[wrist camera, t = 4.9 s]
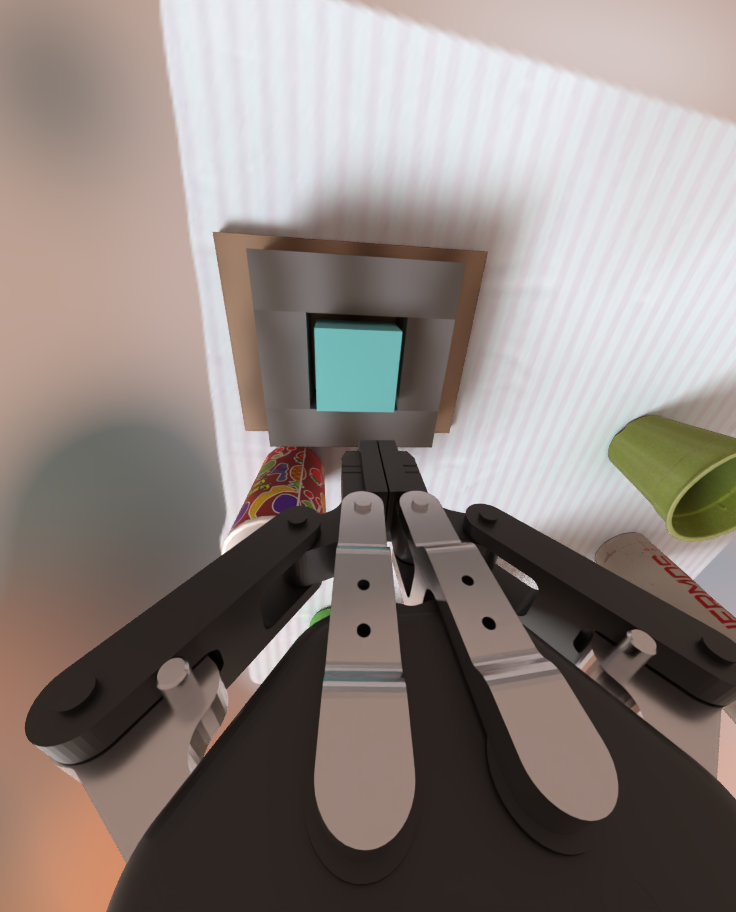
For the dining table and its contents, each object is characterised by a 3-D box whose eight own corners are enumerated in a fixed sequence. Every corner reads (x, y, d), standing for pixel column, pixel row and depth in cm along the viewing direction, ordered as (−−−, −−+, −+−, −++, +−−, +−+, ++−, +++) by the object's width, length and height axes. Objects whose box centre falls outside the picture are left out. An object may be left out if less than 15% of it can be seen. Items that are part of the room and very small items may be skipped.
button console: (482, 252, 27) (517, 249, 22) (446, 428, 36) (464, 456, 31) (217, 233, 25) (186, 225, 20) (248, 425, 34) (231, 455, 29)
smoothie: (265, 424, 34) (193, 586, 17) (339, 443, 36) (342, 605, 19) (253, 484, 38) (186, 664, 21) (321, 498, 40) (309, 673, 23)
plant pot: (602, 493, 44) (676, 558, 34) (577, 435, 38) (657, 493, 29) (692, 446, 41) (801, 502, 31) (679, 375, 35) (807, 418, 26)
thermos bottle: (625, 526, 48) (912, 787, 24) (655, 541, 50) (941, 791, 26) (584, 558, 51) (800, 816, 27) (614, 571, 54) (835, 817, 30)
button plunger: (393, 322, 26) (402, 331, 22) (387, 394, 29) (393, 412, 26) (317, 318, 25) (314, 327, 22) (319, 393, 28) (316, 411, 25)
